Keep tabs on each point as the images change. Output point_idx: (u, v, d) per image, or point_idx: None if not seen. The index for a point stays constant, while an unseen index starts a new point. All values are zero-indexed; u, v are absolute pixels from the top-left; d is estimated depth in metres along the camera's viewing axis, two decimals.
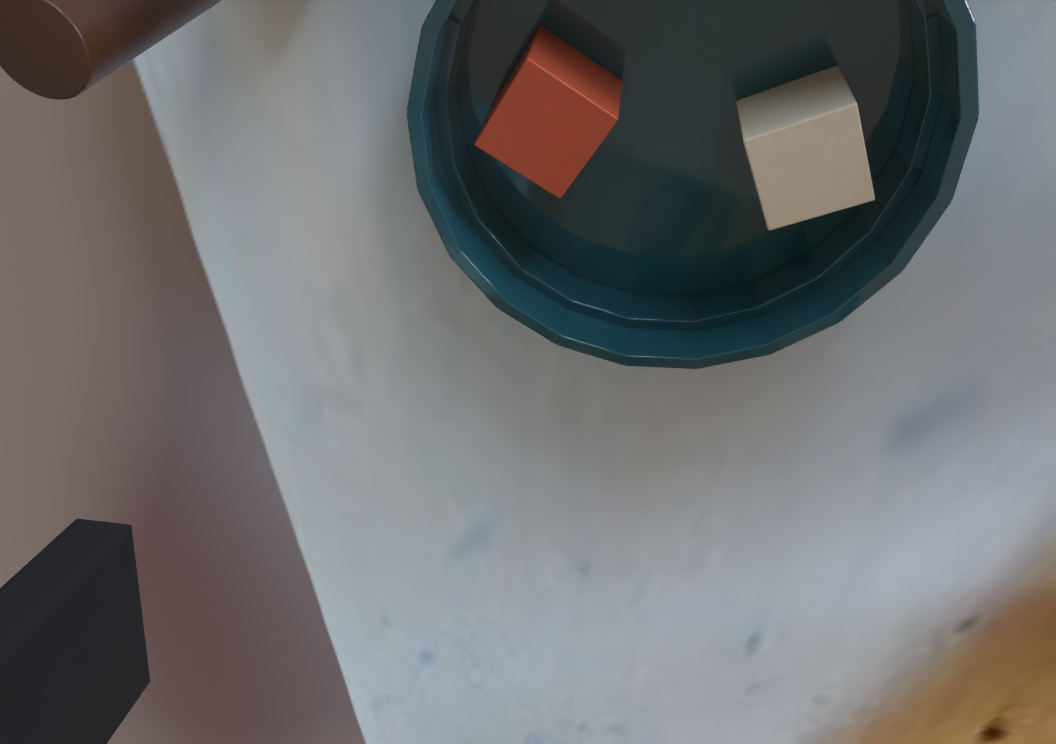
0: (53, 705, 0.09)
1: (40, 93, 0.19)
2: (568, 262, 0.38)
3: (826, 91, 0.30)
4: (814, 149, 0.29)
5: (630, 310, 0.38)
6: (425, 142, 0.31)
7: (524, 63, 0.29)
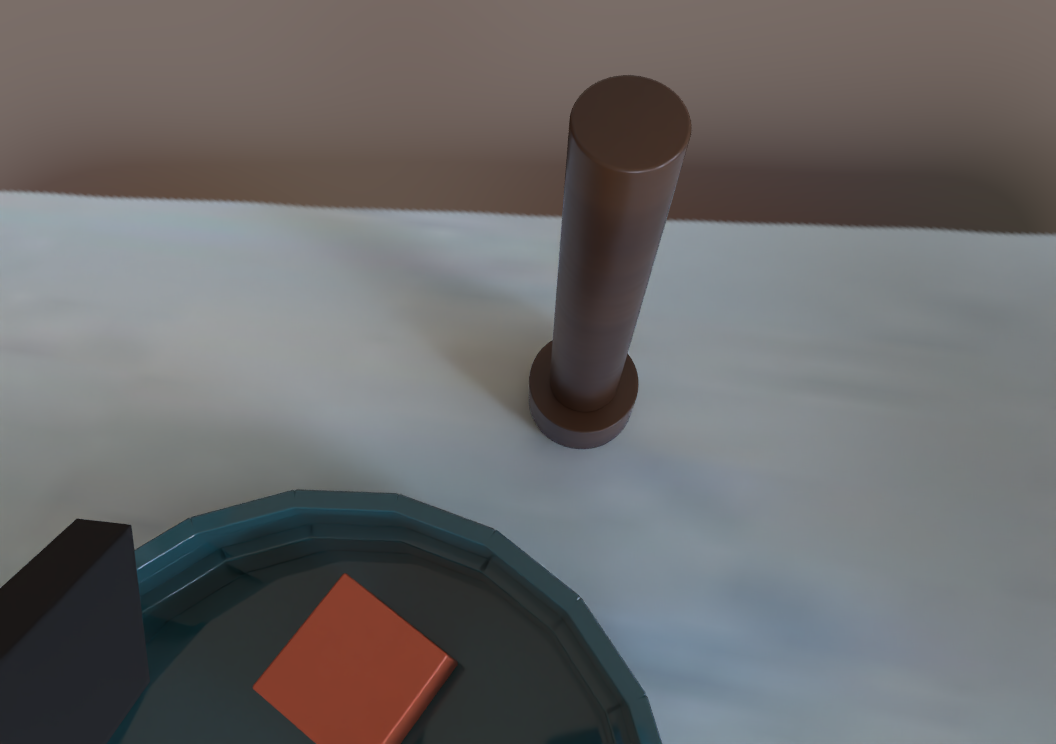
0: (53, 704, 0.09)
1: (578, 103, 0.17)
2: None
3: None
4: None
5: None
6: (357, 510, 0.24)
7: (441, 651, 0.23)
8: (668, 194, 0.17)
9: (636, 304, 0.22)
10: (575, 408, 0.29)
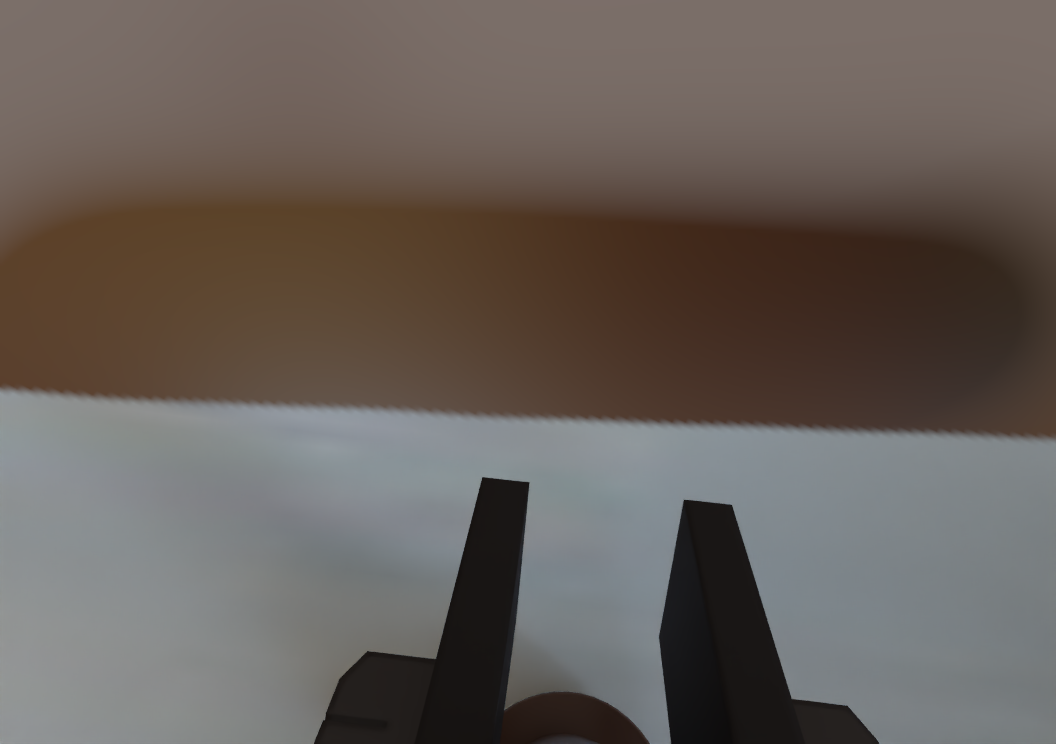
0: (512, 626, 0.11)
1: None
2: None
3: None
4: None
5: None
6: None
7: None
8: None
9: None
10: None
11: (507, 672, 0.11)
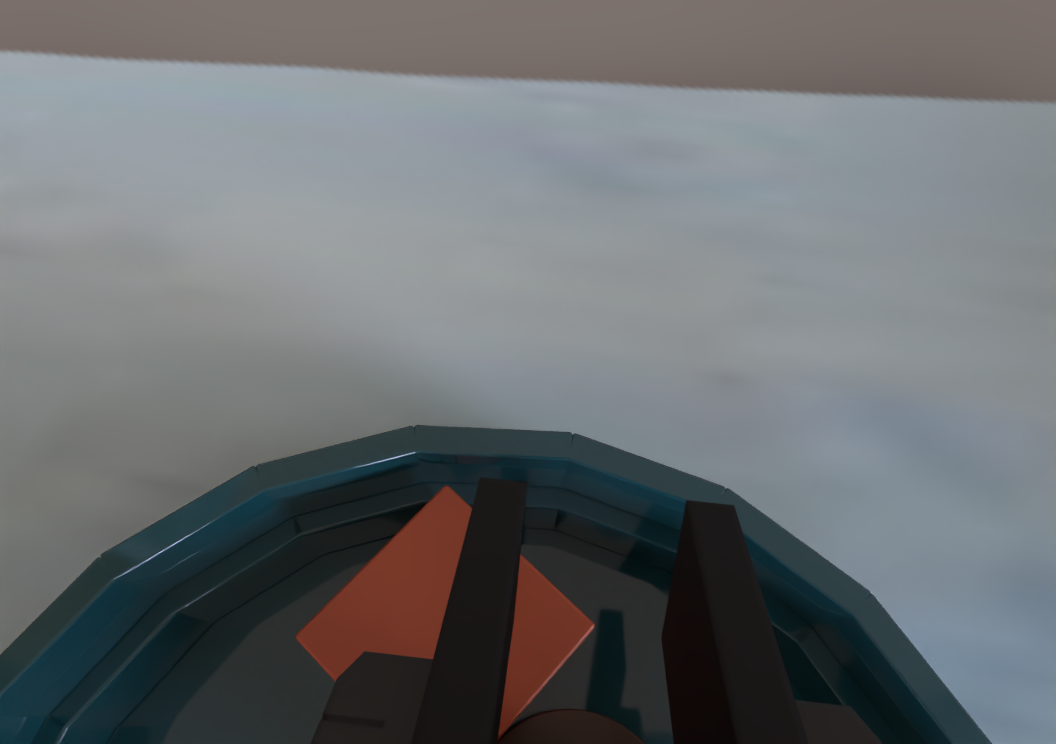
0: (510, 626, 0.11)
1: None
2: (152, 710, 0.18)
3: None
4: None
5: None
6: (511, 457, 0.16)
7: (585, 617, 0.15)
8: None
9: None
10: None
11: (505, 672, 0.11)
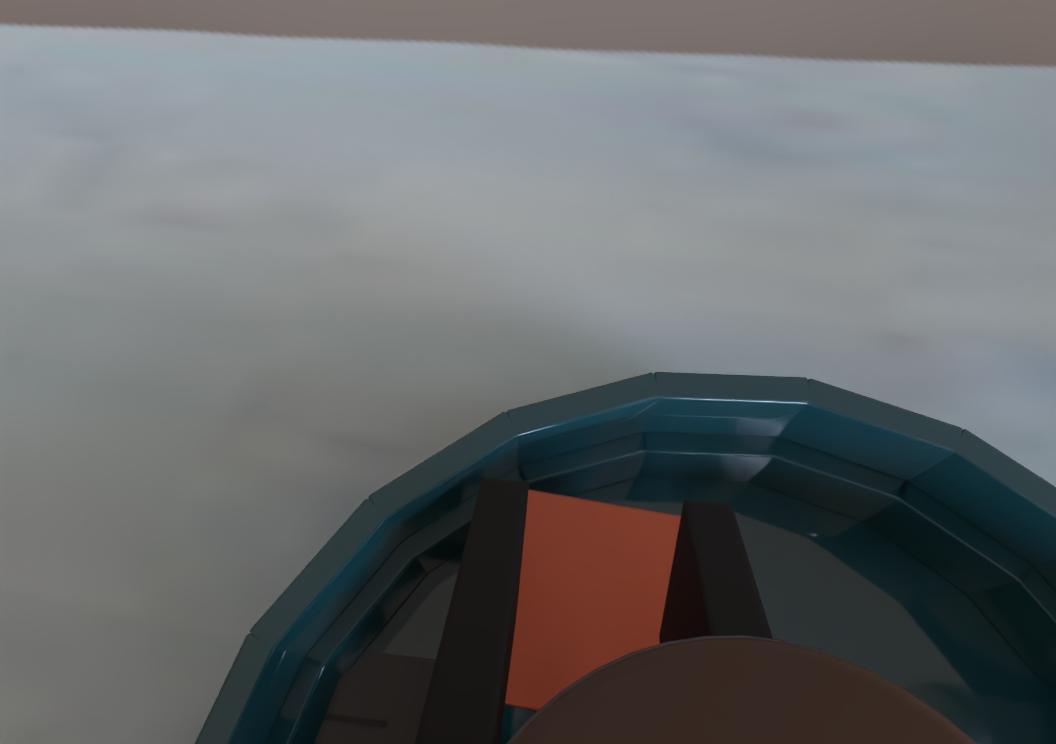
0: (511, 626, 0.11)
1: None
2: None
3: None
4: None
5: None
6: (751, 401, 0.16)
7: None
8: None
9: None
10: None
11: (507, 672, 0.11)
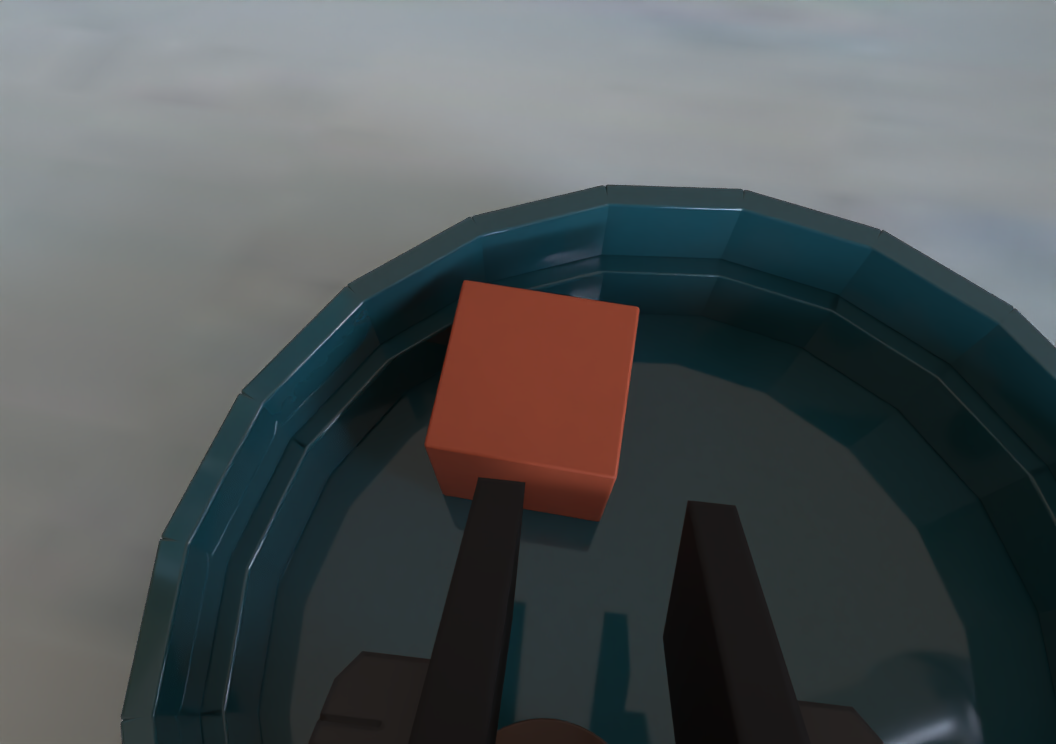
0: (507, 625, 0.11)
1: None
2: (359, 462, 0.20)
3: None
4: None
5: (259, 570, 0.18)
6: (692, 208, 0.18)
7: (616, 468, 0.16)
8: None
9: None
10: None
11: (503, 672, 0.11)
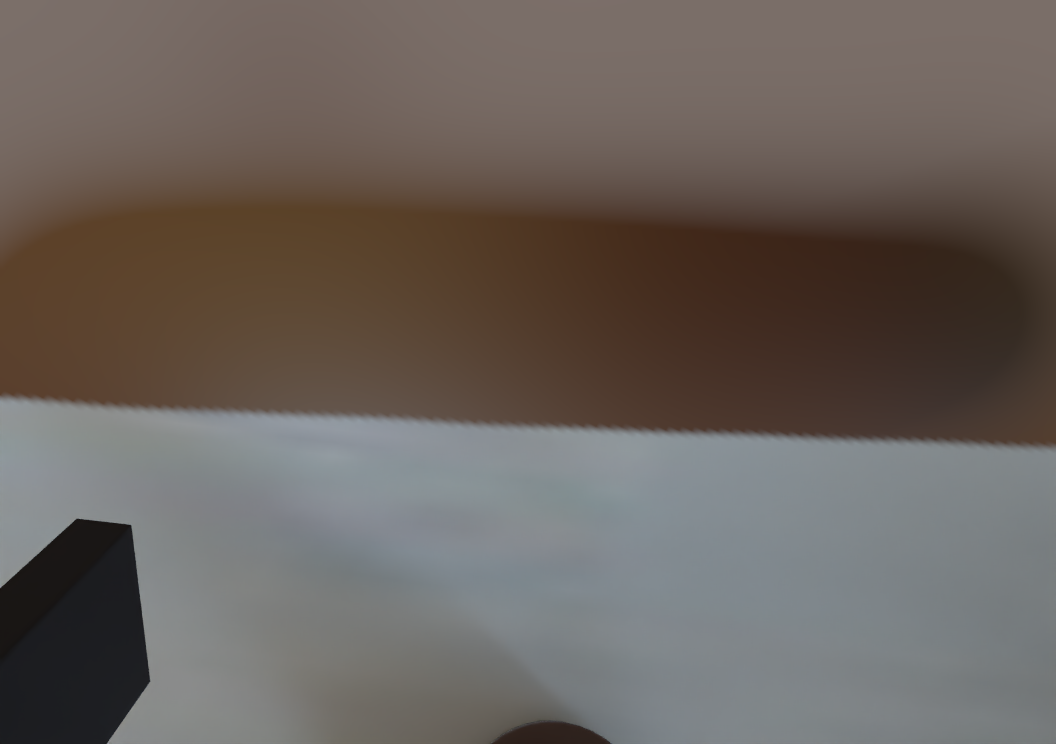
0: (52, 704, 0.09)
1: None
2: None
3: None
4: None
5: None
6: None
7: None
8: None
9: None
10: None
11: None
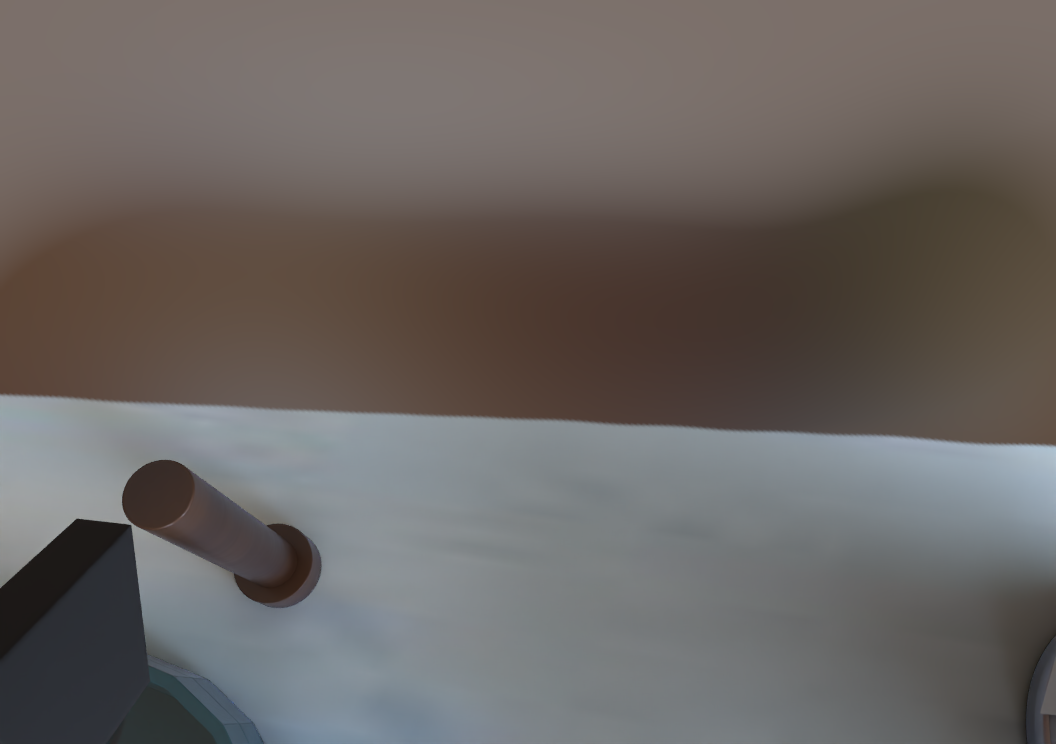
0: (52, 704, 0.09)
1: (126, 486, 0.28)
2: None
3: None
4: None
5: None
6: None
7: None
8: (200, 520, 0.29)
9: (243, 548, 0.33)
10: (265, 586, 0.40)
11: None
